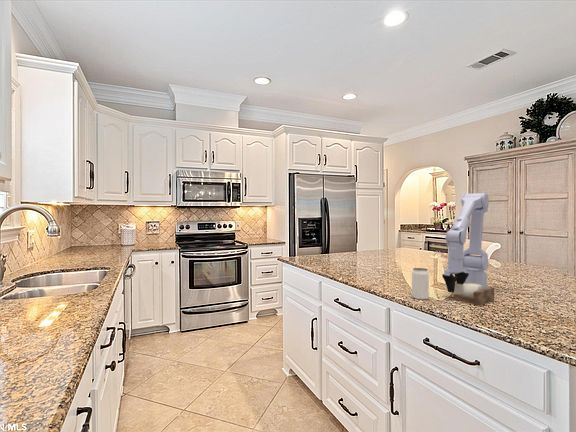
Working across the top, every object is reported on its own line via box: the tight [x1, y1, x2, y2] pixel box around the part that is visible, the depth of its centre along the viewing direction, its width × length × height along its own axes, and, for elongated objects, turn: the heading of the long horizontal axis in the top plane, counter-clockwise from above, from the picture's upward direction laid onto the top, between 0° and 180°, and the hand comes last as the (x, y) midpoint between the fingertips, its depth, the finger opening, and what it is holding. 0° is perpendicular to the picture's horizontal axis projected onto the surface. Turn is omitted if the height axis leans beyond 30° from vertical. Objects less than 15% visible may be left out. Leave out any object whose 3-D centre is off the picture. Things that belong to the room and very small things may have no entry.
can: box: [411, 267, 430, 301], centre depth 136 cm, size 6×6×12 cm
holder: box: [454, 286, 495, 307], centre depth 133 cm, size 14×10×5 cm
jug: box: [453, 281, 483, 298], centre depth 135 cm, size 11×6×6 cm, turn 36°
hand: (455, 290), depth 139 cm, fingers open, 7 cm apart
